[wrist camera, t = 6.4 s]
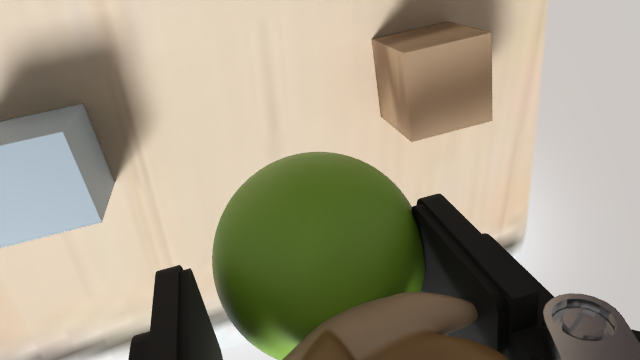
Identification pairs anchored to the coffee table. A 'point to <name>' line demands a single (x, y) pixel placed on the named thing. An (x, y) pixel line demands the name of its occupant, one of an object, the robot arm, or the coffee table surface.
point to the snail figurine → (333, 268)
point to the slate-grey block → (50, 175)
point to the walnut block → (434, 79)
